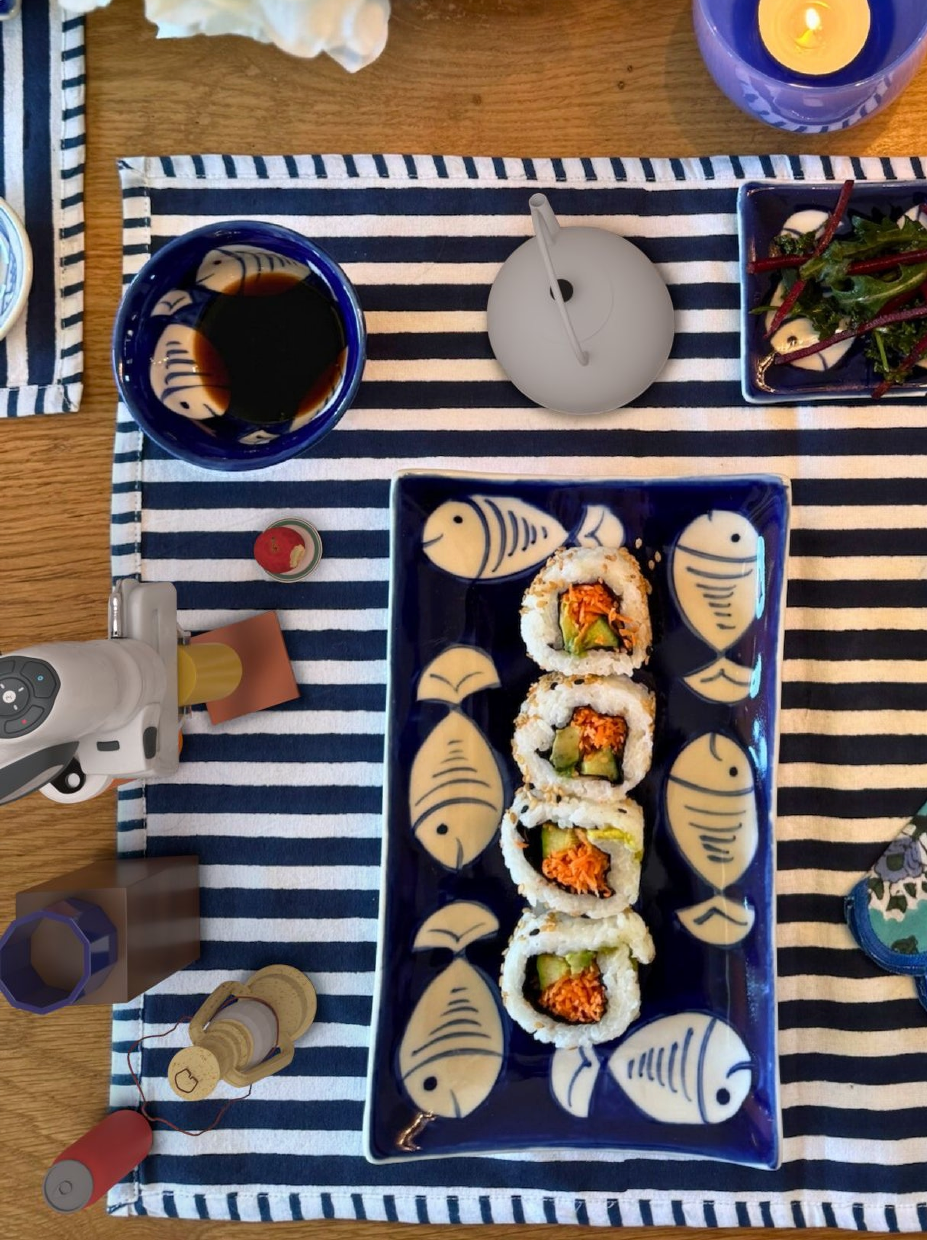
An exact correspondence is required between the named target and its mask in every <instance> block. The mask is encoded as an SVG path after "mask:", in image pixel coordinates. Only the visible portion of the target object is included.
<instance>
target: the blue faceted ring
mask: <svg viewBox="0 0 927 1240" xmlns="http://www.w3.org/2000/svg"><path fill="white" fill-rule="evenodd" d="M43 917H45V918H49V919H52V920H56V921H59V922H63V923H67V924H68V925H69V926H70V928H71V929H72V930H73V932H74V933H75V934H76V936H77V937H78V938H79V940H80V941H81V943H82V944H83V945H84V975H83V977H82V978H81V980H80V981H79V983H78V984H77V986H76V987H75V989H74V990H73V992H68V991H65V990H61V989H58V988H54V987H51V986H47V985H46V984H45V983H44V982H43V980H42V979H41V977H40V976H39V975H38V973H37V972H36V971H35V969H34V968H33V966H32V965H31V951H30V937H31V935H32V934H33V932H34V931H35V929H36V928H37V926H38V925H39V923H40V922H41V920H42V919H43ZM116 963H117V929H116V928H115V926H114V925H113V924H112V922H111V921H110V919H109V918H108V917H107V915H106V914H105V913H104V911H103V910H102V909H101V907H100V906H99V905H96V904H92V903H89V902H85V901H81V900H78V899H74V898H67V899H65V900H62V901H60V902H57V903H55V904H52V905H50V906H47V907H44V908H42V909H40V910H37V911H35V912H32V913H30V914H28V915H25V916H23V917H21V918H18V919H16V920H15V919H14V920H12V921H11V922H10V923H9V924H8V927H6V930H5V931H4V932H3V933H2V935H1V937H0V993H1V994H2V995H3V997H4V999H6V1001H7V1002H8V1004H9V1005H10V1006H11V1007H12V1008H14V1009H16V1008H18V1009H17V1010H21V1011H26V1012H29V1013H32V1014H36V1015H39V1016H45V1015H47V1014H51V1013H52V1012H55V1011H58V1010H60V1009H63V1008H64V1007H69V1006H68V1005H70V1004H73V1003H74V1002H76V1001H78V1000H79V999H81V998H83V997H85V996H86V995H88V994H90V993H92V992H93V991H95V990H97V989H99V988H100V987H101V985H102V984H103V982H104V981H105V979H106V978H107V976H108V975H109V973H110V972H111V970H112V969H113V967H114V966H115V964H116Z"/></svg>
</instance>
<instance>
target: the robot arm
mask: <svg viewBox="0 0 927 1240" xmlns="http://www.w3.org/2000/svg"><path fill="white" fill-rule="evenodd" d="M191 638H192V633H191V630H190V631H187V630H186V631H185V630H184V628H183V627H182V626H181V624H180V623H179V621H178V592H177V589H176V587H175V585H174V584H173V582H171V581H152V582H139V580H137V579H136V578H133V577H121V578H118V579H117V580H116V581H115V587H114V590H113V591H112V592H111V593H110V595H109V597H108V602H107V638H100V639H99V638H98V639H89V640H84V641H77V640H65V641H64V640H63V641H62V640H61V641H52V642H43V643H39V644H38V643H37V644H34V645H28V646H26V647H25V646H24V647H22V648H21V647H20V648H19V649H15V650H12V651H8V652H7V653H4V654H3V653H2V651H1V650H0V807H2V806H5V805H8V804H10V803H14V802H16V801H18V800H21V799H23V798H25V797H27V796H29V795H32V794H33V793H35V792H37V791H40V790H39V789H40V788H42V787H44V786H45V785H47V784H48V783H49V782H51V781H52V780H53V779H55V778H56V777H57V776H58V775H59V774H60V773H62V772H63V771H64V770H65V769H66V767H67V766H68V764H69V763H70V761H71V759H72V758H73V756H74V755H75V753H76V751H78V756H79V760H80V765H81V769H82V771H83V772H84V773H85V774H89V775H108V776H109V777H111V778H115V779H137V780H139V779H140V780H143V779H147V780H148V779H160V778H169V777H173V776H175V774H176V773H177V770H178V769H179V765H180V755H179V736H178V732H179V730H181V729H182V727H183V726H184V723H185V722H186V720H190V719H192V718H193V715H192V714H193V710H192V709H193V708H192V705H186V706H181V707H178V658H177V645H190V644H191Z"/></svg>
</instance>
